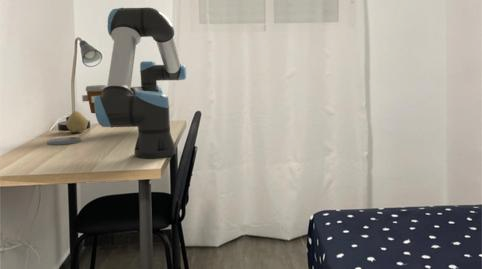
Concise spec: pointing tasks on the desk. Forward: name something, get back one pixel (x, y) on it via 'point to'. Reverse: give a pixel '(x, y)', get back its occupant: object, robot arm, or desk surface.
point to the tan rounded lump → (76, 122)
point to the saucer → (64, 141)
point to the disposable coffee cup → (94, 94)
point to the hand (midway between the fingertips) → (87, 99)
